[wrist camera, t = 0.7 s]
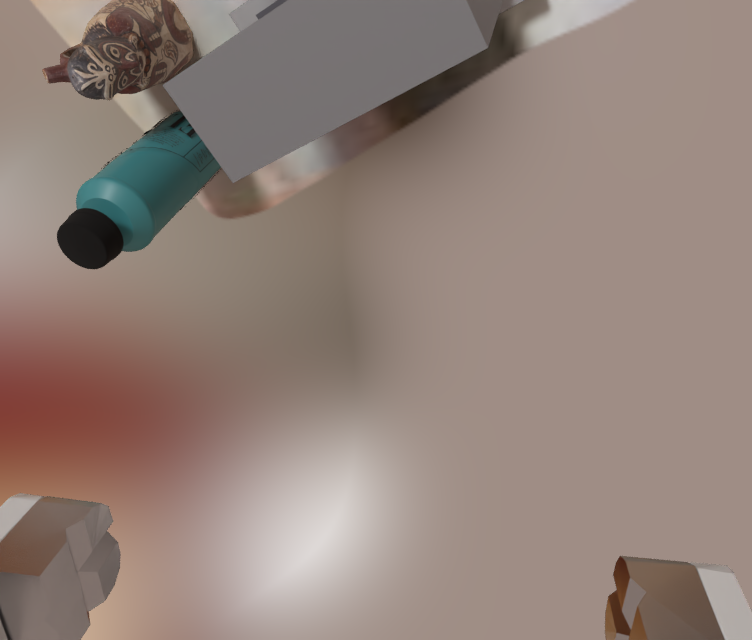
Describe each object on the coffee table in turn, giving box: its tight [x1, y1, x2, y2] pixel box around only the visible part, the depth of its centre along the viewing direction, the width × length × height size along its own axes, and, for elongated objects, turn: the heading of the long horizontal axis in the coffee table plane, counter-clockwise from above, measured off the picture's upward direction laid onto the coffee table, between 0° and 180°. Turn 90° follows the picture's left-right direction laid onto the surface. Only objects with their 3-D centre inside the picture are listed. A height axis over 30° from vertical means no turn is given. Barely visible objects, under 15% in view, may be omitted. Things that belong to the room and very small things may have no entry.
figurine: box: [42, 0, 193, 100], centre depth 50 cm, size 7×7×12 cm
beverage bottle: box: [57, 110, 221, 269], centre depth 52 cm, size 6×7×20 cm
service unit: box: [163, 0, 524, 183], centre depth 42 cm, size 22×10×18 cm, turn 121°
